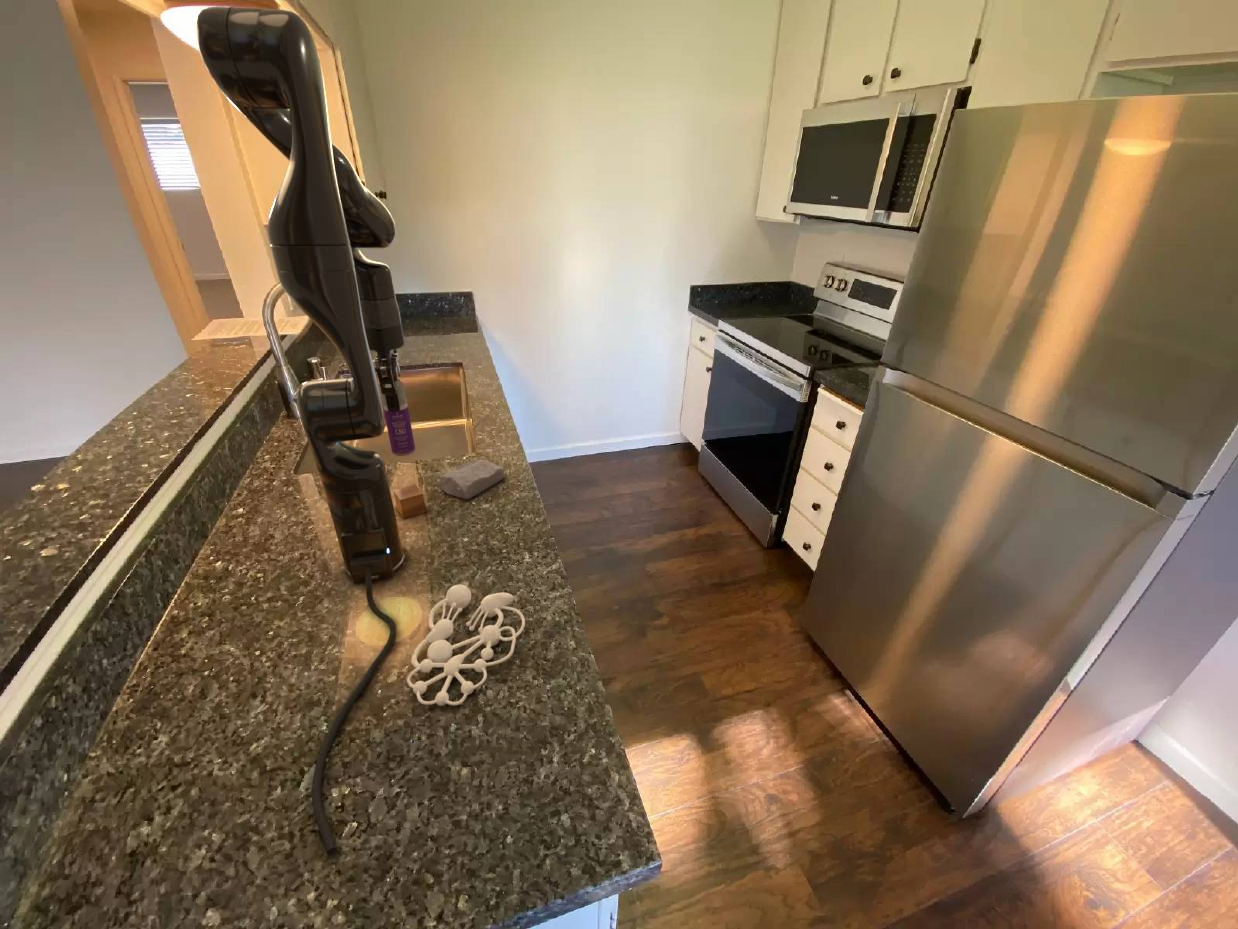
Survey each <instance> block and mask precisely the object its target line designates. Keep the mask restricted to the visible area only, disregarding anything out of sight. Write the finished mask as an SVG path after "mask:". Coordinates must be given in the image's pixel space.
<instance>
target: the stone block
mask: <svg viewBox="0 0 1238 929" xmlns="http://www.w3.org/2000/svg"><path fill="white" fill-rule="evenodd" d="M504 474H505V472H504V469H503V468H502V467H501V466H499V465H497V464H496V463H493V462H491V461H489V460H486V459H472V460H469V461H467V462H465V463H462V464H461V465H459V466H457V467H456V468H454V470H451V471H449V472H446V473H443V474H442V475H440V476H439V485H440V488H441V490H442V491H443V492H445V494H447V495H449V496H454V497H457V498H459V499H463V500H467V501H468V500H470V499H472V498H474V497H476V496H477V495H479V494H481V493H482V492H484V491H486V490H488V489H489V488H491V487H492V486H495V485H496V484H498V483H499V482H500V481H502V480H503V478H504V476H505V475H504Z"/></svg>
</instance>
